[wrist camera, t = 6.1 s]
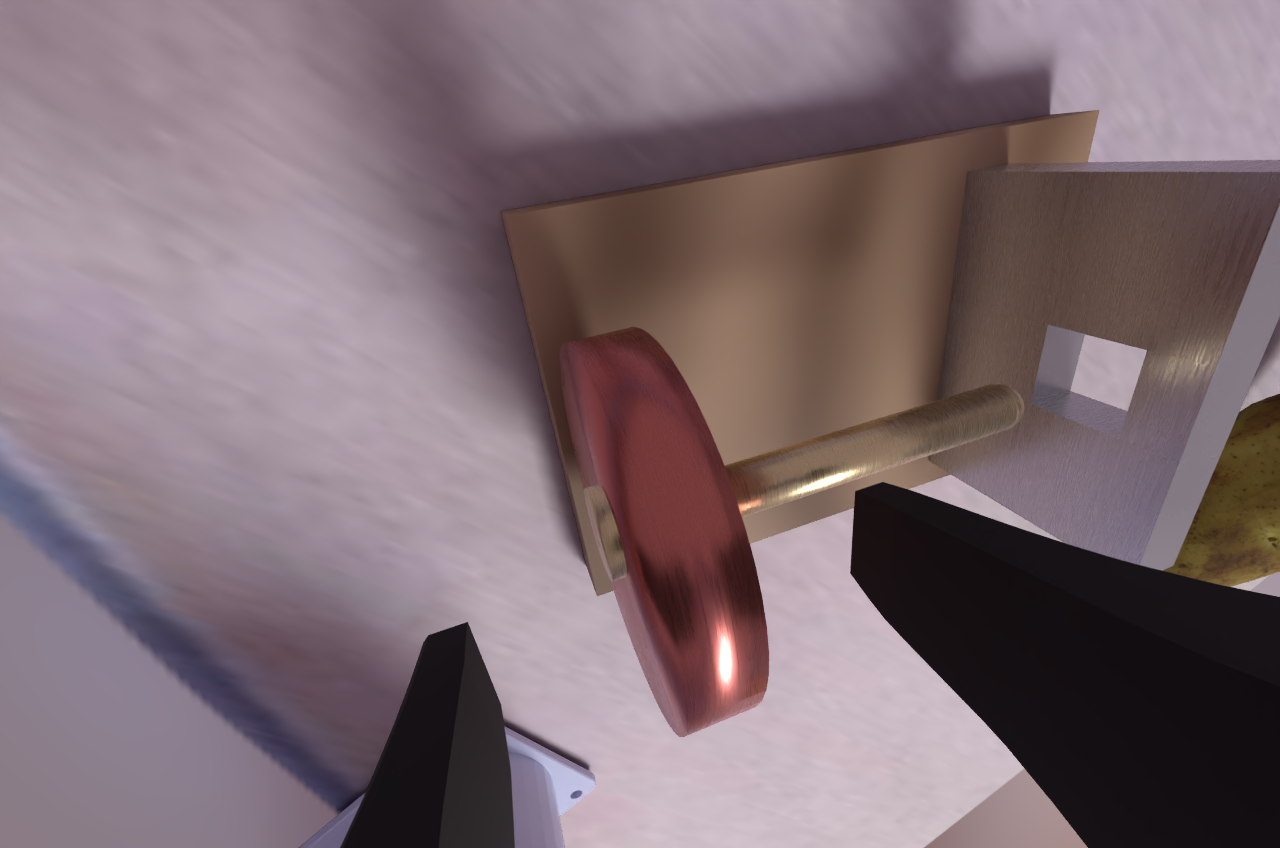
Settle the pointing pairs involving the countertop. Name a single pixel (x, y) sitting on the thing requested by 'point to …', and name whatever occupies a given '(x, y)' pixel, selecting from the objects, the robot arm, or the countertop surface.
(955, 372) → the eye plate
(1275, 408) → the potato
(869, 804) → the countertop surface
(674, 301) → the base board
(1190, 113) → the countertop surface
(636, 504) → the copper disc on rod
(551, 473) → the countertop surface
